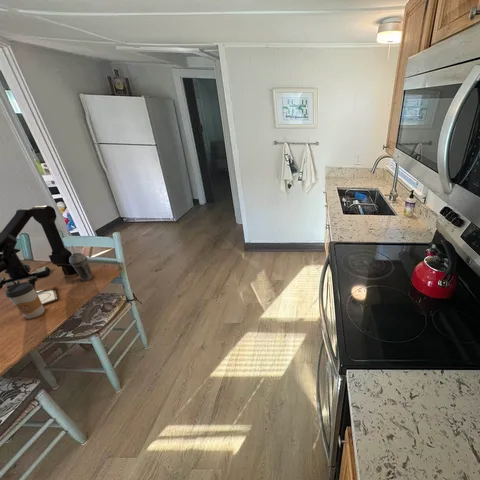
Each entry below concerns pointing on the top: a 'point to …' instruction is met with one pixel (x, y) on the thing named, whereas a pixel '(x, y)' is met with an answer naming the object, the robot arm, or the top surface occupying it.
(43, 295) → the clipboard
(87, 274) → the beverage cup
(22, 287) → the coffee cup
